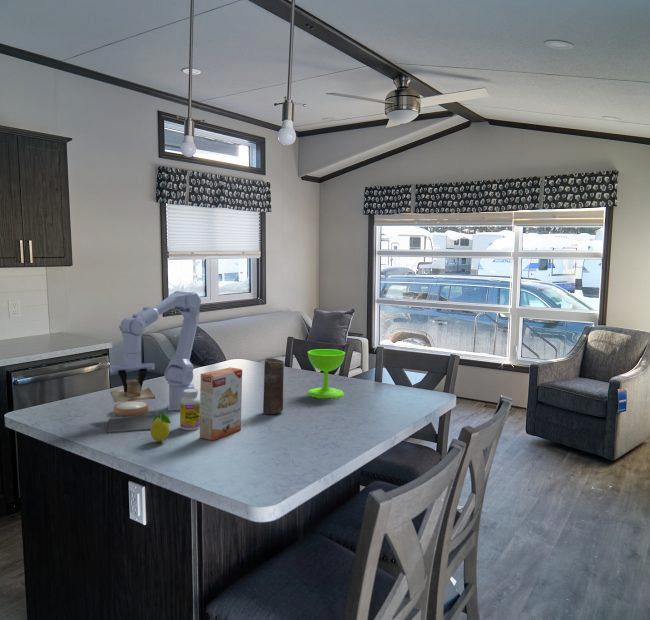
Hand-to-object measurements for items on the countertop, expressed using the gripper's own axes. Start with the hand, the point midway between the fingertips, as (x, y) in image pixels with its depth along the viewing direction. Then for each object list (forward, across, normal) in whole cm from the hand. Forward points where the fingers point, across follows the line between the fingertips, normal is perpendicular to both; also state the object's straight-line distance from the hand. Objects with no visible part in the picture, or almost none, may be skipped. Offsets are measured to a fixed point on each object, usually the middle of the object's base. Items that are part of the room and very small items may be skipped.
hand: (132, 391), depth 189 cm
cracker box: (+11, -24, +26) cm, 37 cm away
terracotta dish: (+10, -1, -11) cm, 15 cm away
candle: (+10, -49, +9) cm, 51 cm away
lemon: (+11, -5, +26) cm, 28 cm away
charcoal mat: (+10, 0, +4) cm, 11 cm away
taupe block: (+2, 0, 0) cm, 2 cm away
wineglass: (+10, -80, -8) cm, 81 cm away
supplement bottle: (+11, -16, +16) cm, 25 cm away
